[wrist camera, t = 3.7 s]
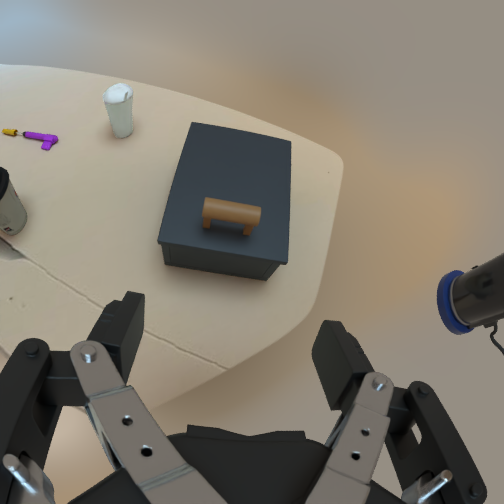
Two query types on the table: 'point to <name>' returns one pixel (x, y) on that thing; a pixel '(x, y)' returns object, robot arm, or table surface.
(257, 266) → the black open box
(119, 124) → the milkshake
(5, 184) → the coffee cup
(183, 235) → the lid
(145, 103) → the table surface
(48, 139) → the purple yellow rod
